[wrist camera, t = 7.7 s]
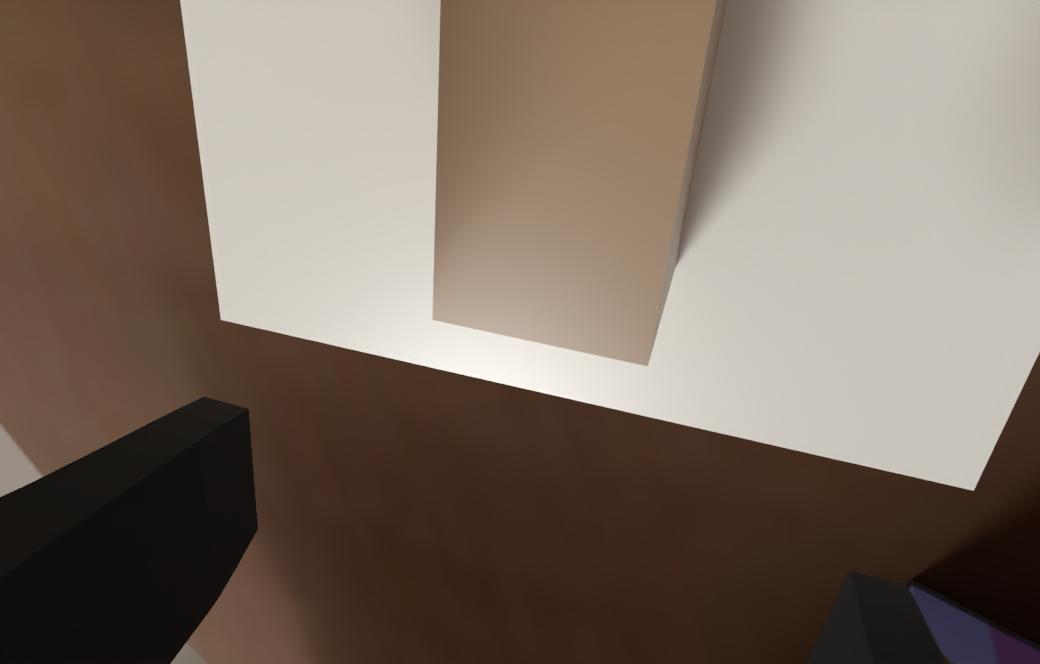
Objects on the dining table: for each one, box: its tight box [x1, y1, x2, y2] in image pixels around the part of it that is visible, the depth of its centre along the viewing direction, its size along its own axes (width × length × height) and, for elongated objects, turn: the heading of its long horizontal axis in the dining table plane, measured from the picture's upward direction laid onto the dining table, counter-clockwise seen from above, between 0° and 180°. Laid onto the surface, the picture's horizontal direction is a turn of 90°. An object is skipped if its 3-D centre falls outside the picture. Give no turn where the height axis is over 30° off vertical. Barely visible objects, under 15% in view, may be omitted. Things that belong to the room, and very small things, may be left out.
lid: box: [180, 0, 1040, 491], centre depth 11 cm, size 14×14×4 cm
